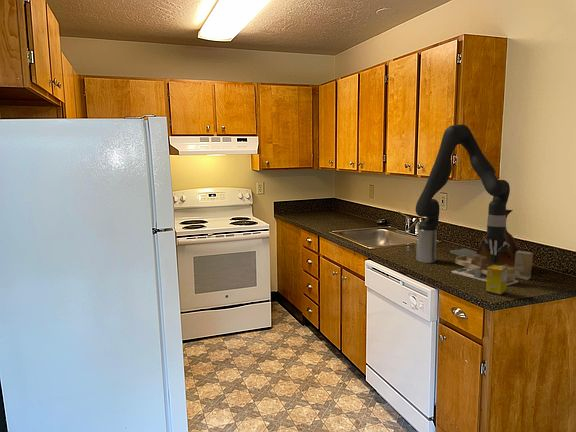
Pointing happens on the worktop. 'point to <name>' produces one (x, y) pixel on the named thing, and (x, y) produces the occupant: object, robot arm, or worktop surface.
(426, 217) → the robot arm
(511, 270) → the beam
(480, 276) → the stand
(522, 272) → the skincare box
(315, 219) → the worktop surface
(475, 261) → the block
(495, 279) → the supplement box
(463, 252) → the soap mold
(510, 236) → the ceramic pitcher
